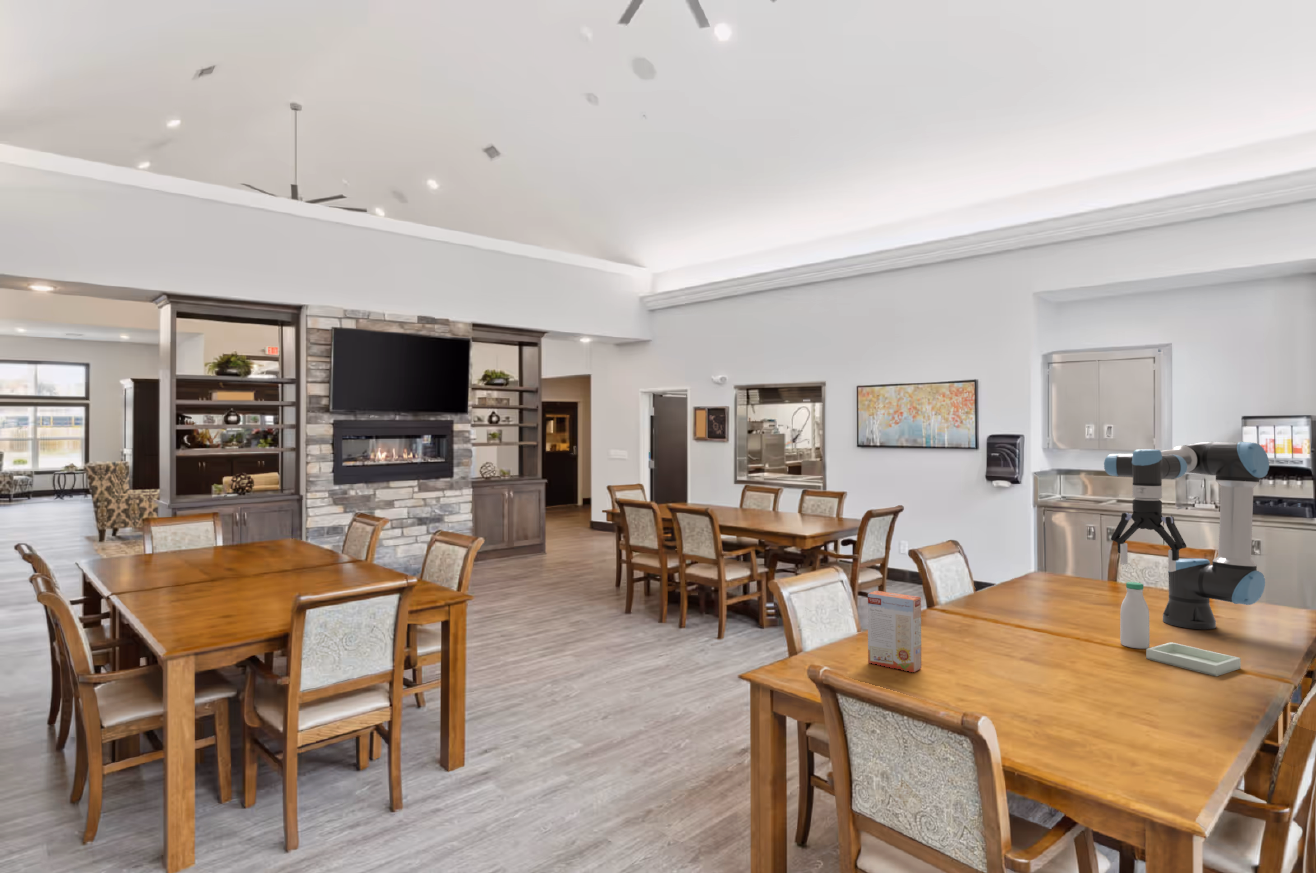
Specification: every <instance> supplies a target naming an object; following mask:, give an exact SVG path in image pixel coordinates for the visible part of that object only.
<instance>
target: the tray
mask: <svg viewBox="0 0 1316 873" xmlns="http://www.w3.org/2000/svg"><path fill="white" fill-rule="evenodd" d="M1145 650H1146V652H1145V654H1146V659H1147V660H1150V661H1153V662H1156V663H1157V662H1158V663H1161V664H1165V665H1169V666H1173V667H1176V668H1177V667H1178V668H1182V669H1185V670H1189V671H1193V672H1197V673H1201V674H1205V675H1208V676H1209V675H1210V676H1213V677H1218V676H1221V675H1225V674H1229V673H1230V672H1235V671H1236V670H1240V669H1241V666H1242V665H1241V659H1242V658H1241V657H1238V656H1234V655H1230V654H1224V653H1220V652H1215V651H1212V650H1208V649H1207V650H1206V649H1202V648H1198V647H1194V646H1190V645H1185V644H1182V643H1181V644H1180V643H1177V642H1172V641H1170V642H1167V643H1164V644H1159V645H1155V646H1152V647H1149V648H1146V649H1145Z"/></svg>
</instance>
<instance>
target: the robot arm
mask: <svg viewBox="0 0 1316 873" xmlns="http://www.w3.org/2000/svg"><path fill="white" fill-rule="evenodd" d="M1103 465H1104V466H1103V468H1104V472H1105V473H1106V474H1107V475H1109V476H1113V477H1123V478H1125V477H1126V478H1127V477H1129V478H1132V497H1133V499H1132V513H1130V512H1122V513H1121V517H1120V518H1121V519H1120V521H1119V523H1118V525H1117V527H1116V529H1115V530H1114V532H1113V533H1112V535H1111V537H1110V540H1111V541H1113V542H1116V543H1117V553H1118V554H1119V555H1120V557H1119V558H1120V565H1121V566H1123V565H1128V564H1129V562H1128V558H1129V557H1128V543H1127V542H1126V541H1128V539H1130V538H1131V536H1133V535H1134V534H1135V532H1137V531H1138V530H1139V529H1140V530H1145V529H1146V530H1150V531H1152V530H1154V532H1156V533H1157V534H1158V535H1159V536H1160V537H1161V538H1162V539H1163V541H1164V542H1165V543H1166V545H1168V547H1169V548H1170V549H1168V552H1167V554H1168V556H1167V557H1168V558H1167V560H1168V561H1167V562H1168V570H1167V573H1168V601H1167V604H1166V606H1165V609H1164V610H1163V613H1162V622H1163V623H1165V624H1167V625H1171V626H1174V627H1178V628H1185V629H1191V630H1192V629H1193V630H1213V629H1216V627H1217V624H1216V623H1217V622H1216V618H1215V615H1214V613H1213V611H1212V607H1211V605H1210V599H1211V600H1216V601H1222V602H1226V603H1232V604H1235V605H1246V606H1249V605H1250V606H1251V605H1254V604H1256V603H1257V602H1258V601H1259V600H1260V599H1261V597H1262V596H1263V593H1264V591H1265V586H1266V579H1265V575H1264V574H1263V573H1262V572H1261V571H1259V570H1257V569H1258V568H1257V566H1258V565H1257V564H1256V563H1255V562H1254V561H1253V560H1252V539H1253V514H1254V513H1253V512H1254V511H1253V510H1254V509H1253V508H1254V507H1253V506H1254V488H1255V487H1256V486H1257V485H1259V484H1260V482H1261V480H1260V478H1261V479H1262V478H1264V477H1266V476H1267V475H1268V472H1269V470H1270V462H1269V457H1268V453H1267V452H1266V450H1265V448H1264V447H1263V446H1262V445H1260V444H1259V443H1256V442H1250V441H1249V442H1247V441H1202V442H1196V443H1191V444H1190V443H1189V444H1184V445H1177V446H1174V447H1173V448H1172V449H1165V450H1160V449H1155V448H1154V449H1149V448H1147V449H1144V448H1143V449H1141V448H1140V449H1138V448H1137V449H1135V450H1134V451H1132V453H1131V452H1130V453H1110V454H1108V455H1106V457H1105V459H1104V461H1103ZM1186 474H1197V475H1205V476H1206V475H1207V476H1215V482H1216V483H1217V484H1219V485H1220V501H1219V502H1220V504H1219V526H1218V527H1219V534H1218V556H1217V557H1215V558H1214V559H1212V564H1211V562H1210V560H1209V559H1207V558H1180V550H1181V549H1186V548H1187V544H1186V542H1185V540H1184V538H1183V537H1182V535H1181V533H1180V531H1179V529H1178V527H1177V525H1176V522H1175V518H1174V516H1163V515H1162V513H1163V512H1162V511H1163V502H1162V501H1163V500H1161V499H1162V498H1163V488H1162V487H1163V486H1162V482H1163V481H1162V480H1174V479H1179V478H1182V477H1183V476H1184V475H1186ZM1131 519H1132V520H1133V523H1132V524H1131V525H1130V527H1128V529H1127V530H1126V531H1125V532H1124V530H1125V529H1126V527H1127V525H1128V523H1129V522H1130V521H1131ZM1162 522H1164V524H1165V525H1166V527H1167V529H1168V531H1169V533H1170V534H1169V533H1168V531H1166V529H1165V528H1164V526H1163V525H1162ZM1123 532H1124V533H1123Z"/></svg>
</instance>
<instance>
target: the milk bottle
mask: <svg viewBox="0 0 1316 873" xmlns="http://www.w3.org/2000/svg"><path fill="white" fill-rule="evenodd" d="M1125 586H1126V588H1125V590H1126V594H1125V597H1124V598H1123V600H1122V603H1121V605H1120V614H1119V615H1120V616H1119V617H1120V622H1119V623H1120V624H1119V625H1120V628H1119V629H1120V631H1119V636H1120V637H1119V638H1120V639H1119V640H1120V644H1121V645H1122V646H1124V647H1126V648H1127V647H1128V648H1132V649H1140V650H1141V649H1143V650H1144V649H1145V650H1146V649H1147V648H1150V609H1149V606H1148V604H1147V601H1146V599H1145V597H1144V593H1143V592H1144V584H1143V583H1142V582H1135V581H1127V582H1126V583H1125Z"/></svg>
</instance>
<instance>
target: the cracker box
mask: <svg viewBox="0 0 1316 873" xmlns="http://www.w3.org/2000/svg"><path fill="white" fill-rule="evenodd" d="M867 663H868V664H871V663H872V664H871V665H875V664H877V665H876V666H880V665H881V666H882V667H884V666H885V668H889V667H890V669H894V668H897V669H896V670H898V669H901V670H900V671H903V670H904V671H903V672H907V671H909V672H908V673H911V672H914V673H916V672H917V671H919V670H921V669H922V597H921V596H915V595H908V594H902V593H895V592H887V591H881V590H874V591H871V592H868V593H867Z"/></svg>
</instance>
